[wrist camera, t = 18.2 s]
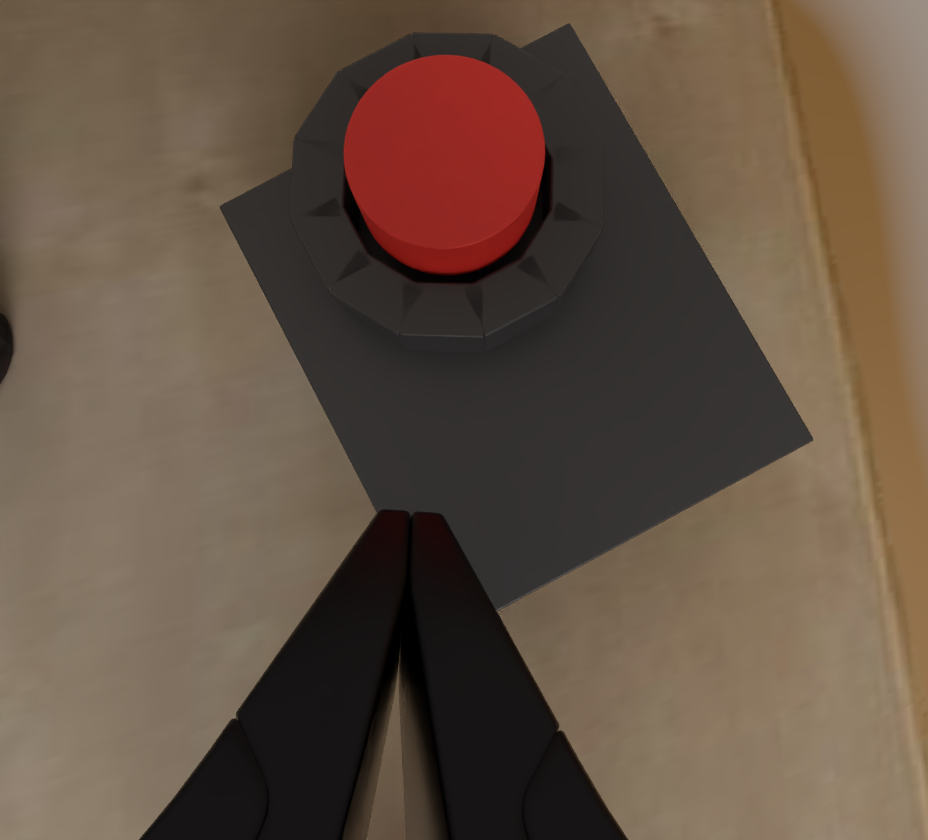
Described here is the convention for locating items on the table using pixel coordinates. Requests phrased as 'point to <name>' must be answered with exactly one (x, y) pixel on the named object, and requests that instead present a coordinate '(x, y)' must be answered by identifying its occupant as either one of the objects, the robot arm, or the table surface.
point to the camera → (4, 346)
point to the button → (445, 163)
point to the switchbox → (520, 335)
